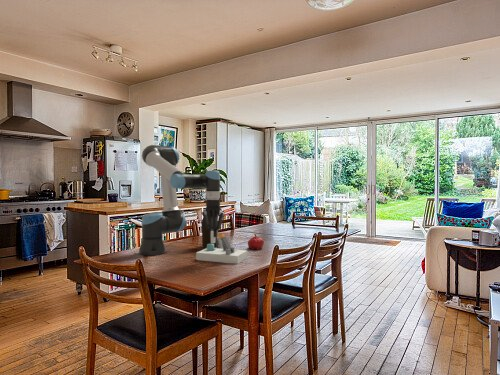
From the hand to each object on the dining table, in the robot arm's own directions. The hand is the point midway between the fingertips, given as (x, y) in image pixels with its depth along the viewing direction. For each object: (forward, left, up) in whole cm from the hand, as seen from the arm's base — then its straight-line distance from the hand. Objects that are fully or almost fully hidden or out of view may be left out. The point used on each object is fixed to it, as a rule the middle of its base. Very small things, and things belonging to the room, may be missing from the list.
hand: (213, 242), depth 183 cm
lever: (+10, 0, -4) cm, 11 cm away
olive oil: (-18, +32, -9) cm, 38 cm away
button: (-4, +5, -7) cm, 10 cm away
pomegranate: (+12, +36, -9) cm, 39 cm away
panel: (+4, +3, -9) cm, 10 cm away
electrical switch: (-3, +20, -9) cm, 22 cm away
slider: (+4, +7, -5) cm, 10 cm away
